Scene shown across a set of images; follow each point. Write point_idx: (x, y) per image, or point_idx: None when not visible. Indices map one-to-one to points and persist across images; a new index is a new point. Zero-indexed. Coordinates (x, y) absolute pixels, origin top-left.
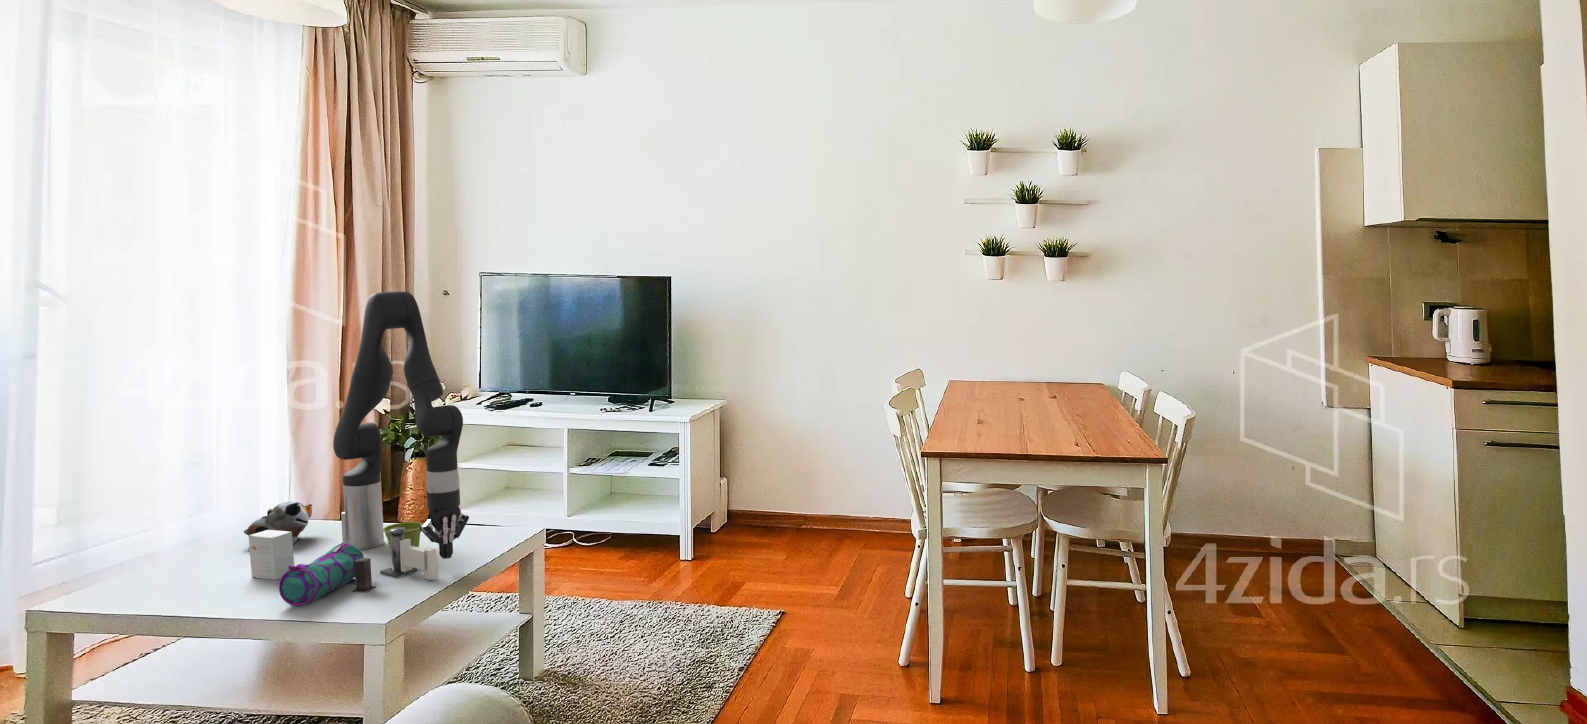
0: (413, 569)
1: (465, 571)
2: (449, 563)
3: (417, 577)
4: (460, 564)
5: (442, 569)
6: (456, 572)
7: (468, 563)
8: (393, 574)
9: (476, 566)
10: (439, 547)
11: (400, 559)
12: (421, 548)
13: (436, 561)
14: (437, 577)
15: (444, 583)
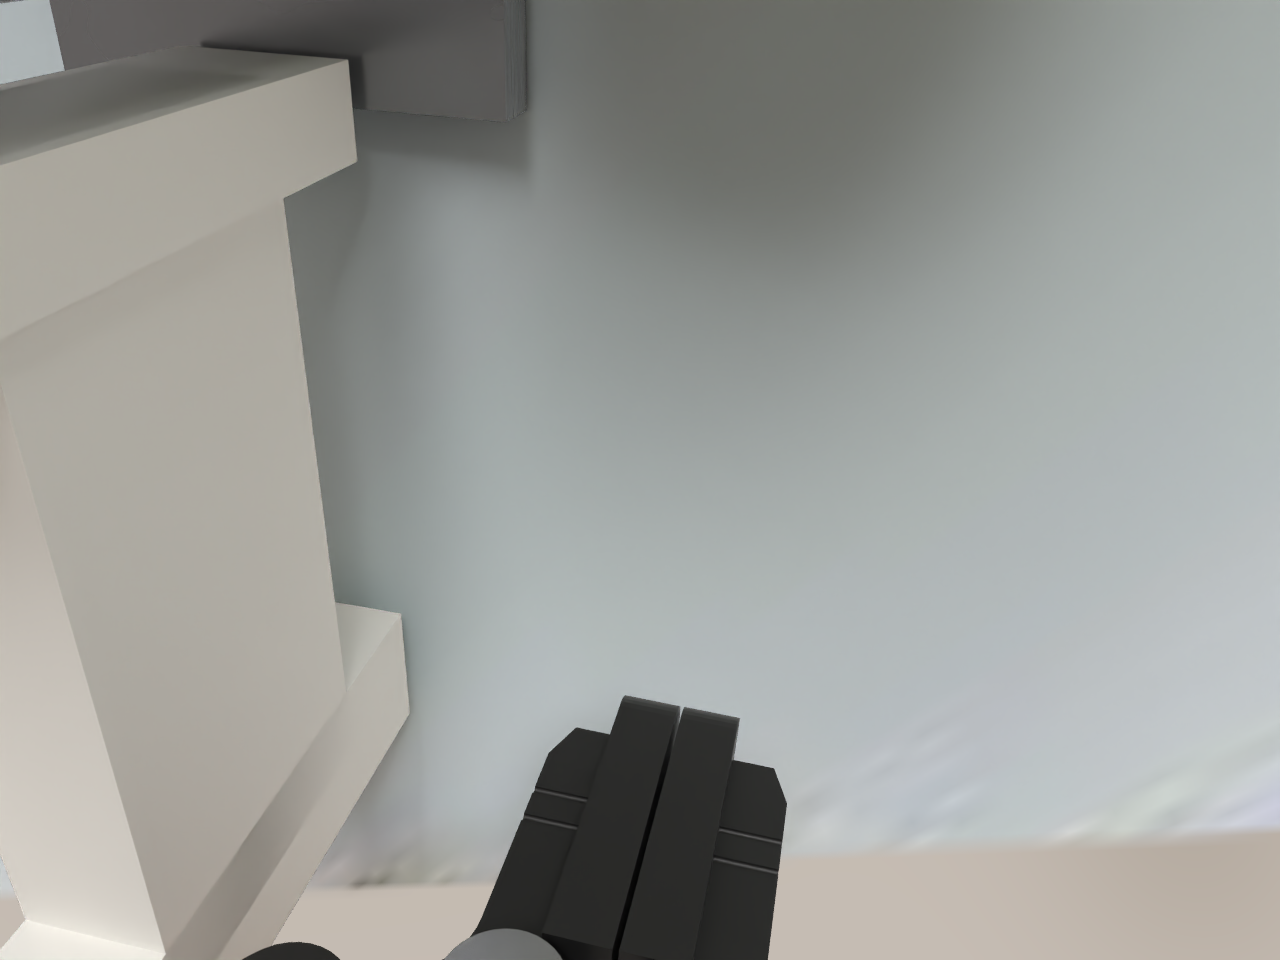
0: (423, 113)
1: (838, 794)
2: (1133, 320)
3: (328, 384)
4: (1128, 542)
5: (783, 454)
6: (754, 720)
7: (1219, 624)
8: (59, 7)
9: (1096, 805)
10: (500, 880)
11: (11, 82)
12: (85, 762)
13: (291, 896)
14: (406, 714)
15: (389, 821)
